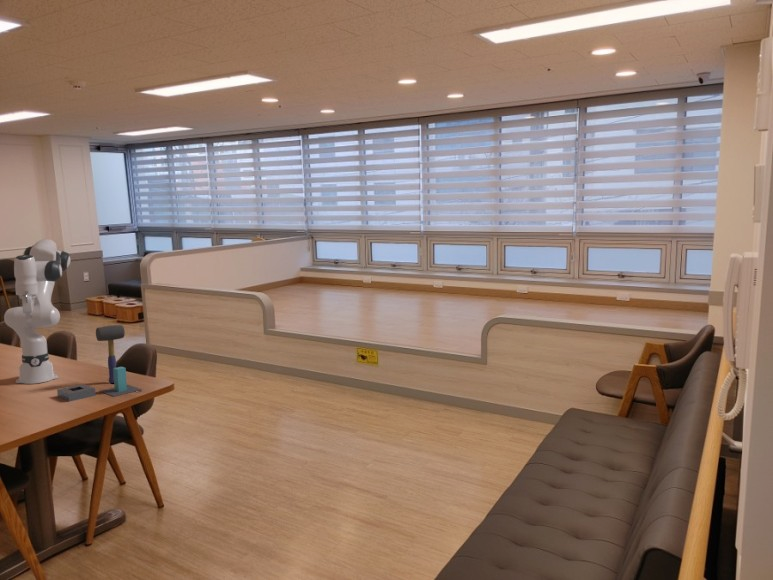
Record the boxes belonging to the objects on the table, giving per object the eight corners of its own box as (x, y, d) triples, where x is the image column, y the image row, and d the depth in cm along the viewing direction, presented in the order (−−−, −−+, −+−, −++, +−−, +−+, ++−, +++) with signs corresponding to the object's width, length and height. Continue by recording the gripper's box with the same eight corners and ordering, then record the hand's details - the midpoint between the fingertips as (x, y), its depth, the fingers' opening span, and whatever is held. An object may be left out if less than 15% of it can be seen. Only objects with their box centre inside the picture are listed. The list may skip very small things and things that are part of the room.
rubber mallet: (123, 379, 301) (120, 323, 298) (128, 382, 296) (125, 325, 292) (98, 384, 293) (94, 326, 290) (102, 387, 288) (98, 328, 284)
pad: (99, 392, 279) (99, 390, 279) (127, 386, 290) (127, 384, 290) (113, 397, 270) (113, 396, 270) (142, 391, 281) (142, 389, 281)
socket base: (57, 397, 271) (57, 389, 270) (83, 391, 280) (83, 383, 279) (69, 402, 263) (68, 394, 263) (95, 396, 273) (95, 388, 272)
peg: (114, 390, 280) (113, 368, 278) (122, 388, 283) (121, 366, 281) (118, 391, 277) (117, 369, 276) (126, 389, 280) (125, 367, 279)
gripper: (34, 292, 257) (36, 323, 258) (35, 288, 274) (37, 316, 276) (17, 293, 254) (20, 324, 255) (20, 288, 271) (22, 317, 273)
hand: (29, 320), depth 266 cm, fingers open, 8 cm apart
